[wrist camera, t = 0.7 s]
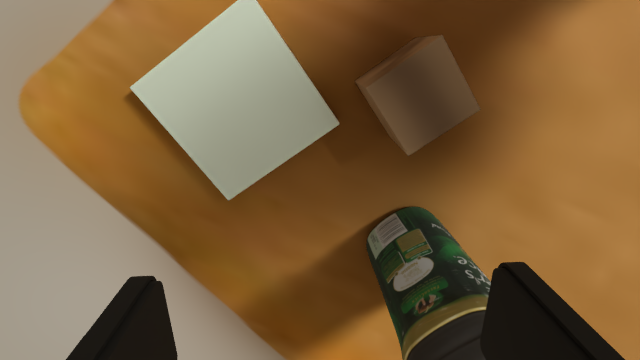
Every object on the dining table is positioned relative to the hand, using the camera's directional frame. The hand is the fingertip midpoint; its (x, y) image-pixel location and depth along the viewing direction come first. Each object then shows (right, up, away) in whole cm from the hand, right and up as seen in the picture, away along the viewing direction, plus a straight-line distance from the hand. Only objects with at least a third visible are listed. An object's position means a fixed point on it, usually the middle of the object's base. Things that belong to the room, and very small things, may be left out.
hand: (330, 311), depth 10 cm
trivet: (-7, +10, +20) cm, 24 cm away
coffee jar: (+9, -3, +26) cm, 28 cm away
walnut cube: (+7, +12, +20) cm, 24 cm away
